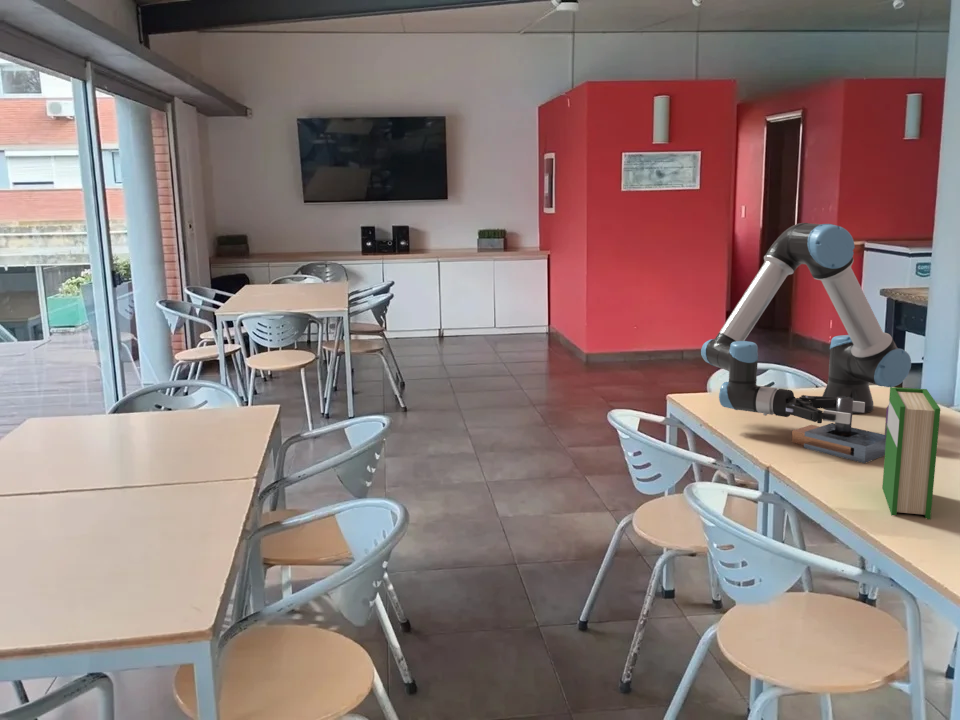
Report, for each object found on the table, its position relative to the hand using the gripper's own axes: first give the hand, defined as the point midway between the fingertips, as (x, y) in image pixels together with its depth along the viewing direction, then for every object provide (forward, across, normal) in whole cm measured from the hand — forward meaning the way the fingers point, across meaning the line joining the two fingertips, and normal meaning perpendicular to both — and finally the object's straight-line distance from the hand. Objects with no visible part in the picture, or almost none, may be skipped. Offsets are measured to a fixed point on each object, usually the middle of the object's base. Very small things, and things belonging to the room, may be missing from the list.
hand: (857, 413), depth 221 cm
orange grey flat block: (-3, 0, -10) cm, 11 cm away
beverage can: (+8, -11, -11) cm, 18 cm away
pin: (-3, 0, -10) cm, 11 cm away
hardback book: (+19, +32, -11) cm, 39 cm away
